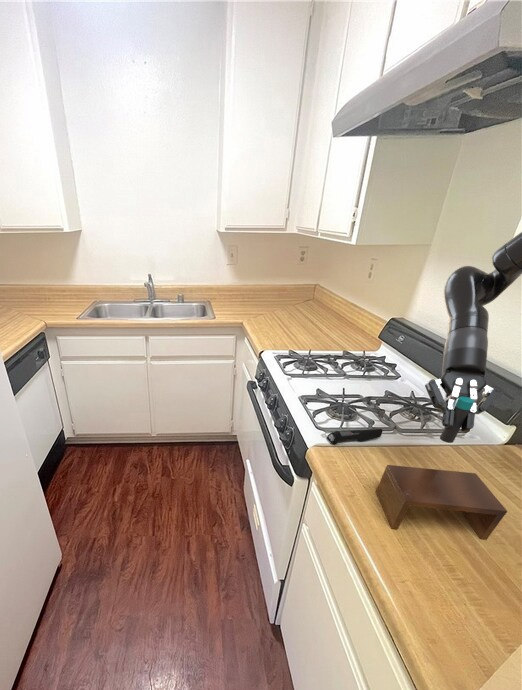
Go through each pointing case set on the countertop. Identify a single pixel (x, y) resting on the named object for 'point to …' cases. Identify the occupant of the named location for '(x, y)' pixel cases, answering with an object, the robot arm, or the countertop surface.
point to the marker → (457, 418)
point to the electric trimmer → (353, 435)
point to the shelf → (439, 496)
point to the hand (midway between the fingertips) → (457, 429)
